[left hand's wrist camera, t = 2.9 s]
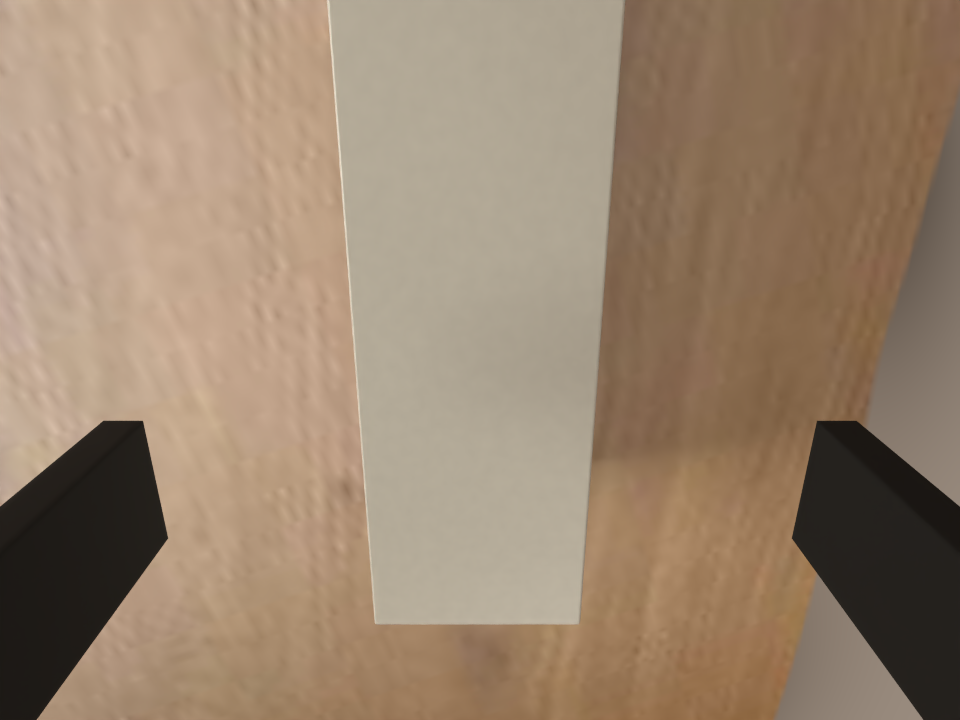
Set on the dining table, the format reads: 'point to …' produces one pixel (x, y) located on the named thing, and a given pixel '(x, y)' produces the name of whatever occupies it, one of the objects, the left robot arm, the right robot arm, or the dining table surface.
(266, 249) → the dining table surface
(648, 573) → the dining table surface
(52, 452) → the dining table surface
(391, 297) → the board
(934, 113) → the dining table surface
